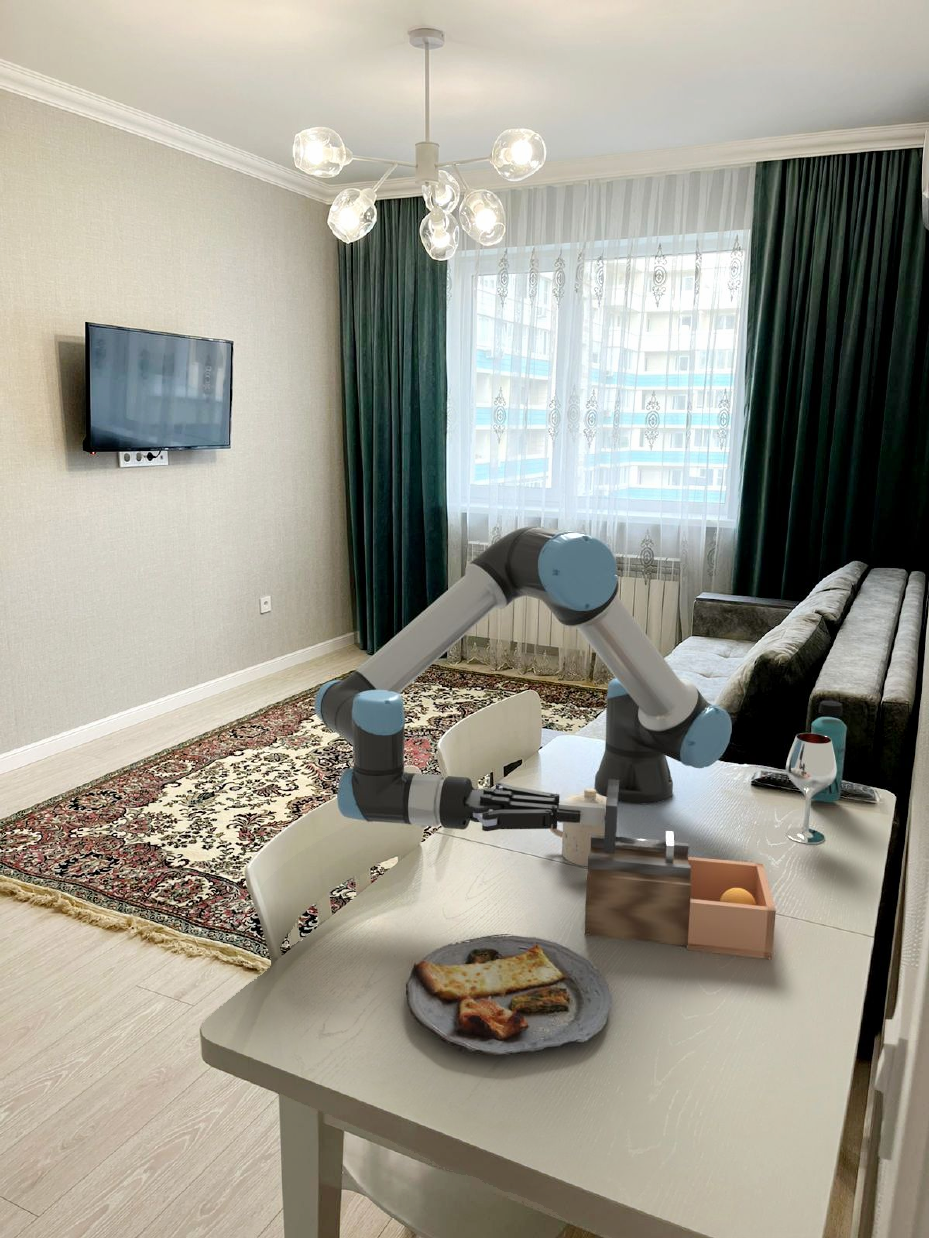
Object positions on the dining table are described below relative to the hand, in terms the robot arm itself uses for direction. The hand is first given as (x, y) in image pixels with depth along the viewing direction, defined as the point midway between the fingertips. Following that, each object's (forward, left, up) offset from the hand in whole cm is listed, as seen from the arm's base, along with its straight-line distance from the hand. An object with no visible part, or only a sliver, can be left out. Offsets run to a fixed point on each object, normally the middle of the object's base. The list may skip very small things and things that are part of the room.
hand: (604, 815), depth 130 cm
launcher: (+3, +4, -15) cm, 16 cm away
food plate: (+11, -23, -16) cm, 30 cm away
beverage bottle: (-14, +63, -16) cm, 66 cm away
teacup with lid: (-18, +9, -16) cm, 25 cm away
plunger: (+3, +4, -6) cm, 8 cm away
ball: (+12, +15, -12) cm, 23 cm away
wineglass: (-5, +48, -16) cm, 51 cm away
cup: (+11, +14, -15) cm, 23 cm away
